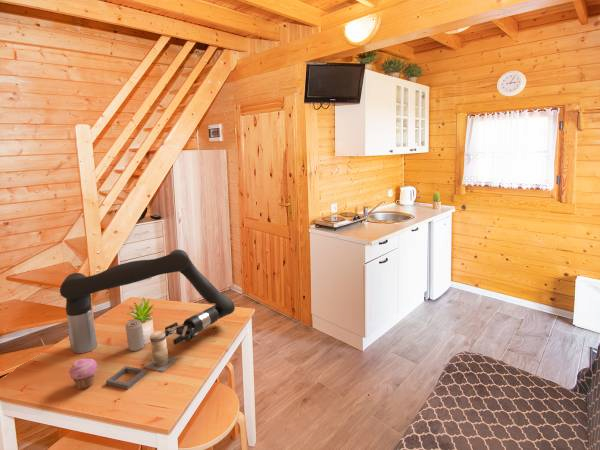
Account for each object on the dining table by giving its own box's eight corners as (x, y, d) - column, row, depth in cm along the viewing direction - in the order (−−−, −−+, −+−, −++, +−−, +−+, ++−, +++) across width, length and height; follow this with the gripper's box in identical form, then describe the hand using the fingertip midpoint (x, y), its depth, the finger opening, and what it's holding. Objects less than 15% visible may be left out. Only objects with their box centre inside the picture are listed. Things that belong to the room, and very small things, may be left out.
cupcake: (75, 380, 137) (70, 356, 135) (101, 375, 140) (97, 351, 138) (70, 395, 129) (65, 370, 127) (97, 389, 132) (93, 364, 130)
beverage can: (129, 353, 155) (125, 327, 152) (128, 346, 160) (124, 321, 158) (145, 349, 157) (142, 323, 155) (144, 342, 163) (140, 317, 160)
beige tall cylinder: (150, 365, 145) (146, 337, 142) (160, 357, 150) (156, 330, 148) (162, 367, 143) (159, 339, 141) (172, 359, 149) (168, 332, 146)
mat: (144, 368, 144) (144, 367, 144) (159, 355, 152) (159, 354, 152) (163, 371, 141) (163, 370, 141) (177, 358, 150) (177, 357, 150)
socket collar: (106, 384, 135) (106, 380, 134) (126, 369, 143) (125, 365, 143) (128, 389, 132) (127, 385, 131) (146, 373, 141) (146, 369, 140)
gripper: (185, 311, 164) (154, 327, 151) (208, 318, 157) (177, 335, 143) (187, 326, 166) (156, 343, 153) (209, 334, 158) (179, 353, 145)
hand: (166, 339), depth 148 cm, fingers open, 8 cm apart
